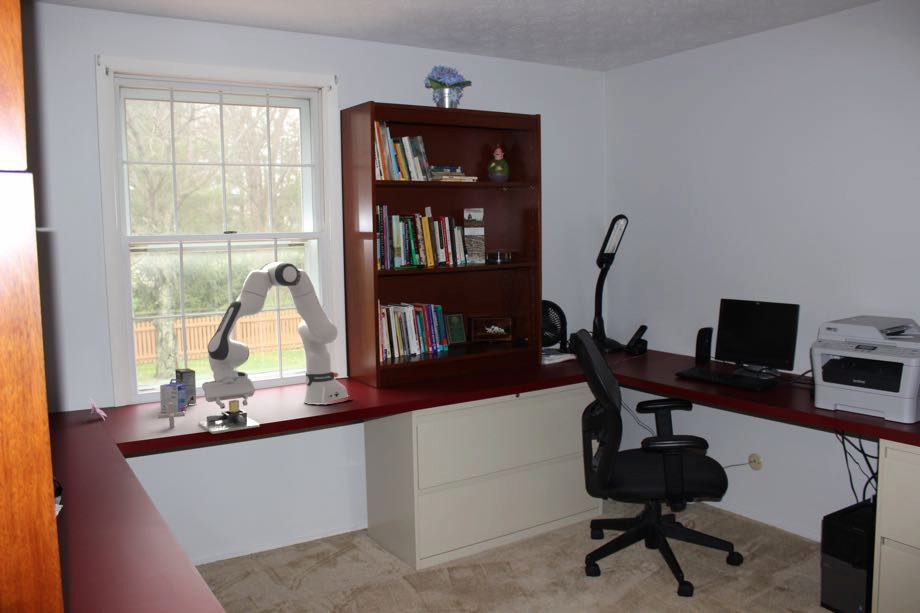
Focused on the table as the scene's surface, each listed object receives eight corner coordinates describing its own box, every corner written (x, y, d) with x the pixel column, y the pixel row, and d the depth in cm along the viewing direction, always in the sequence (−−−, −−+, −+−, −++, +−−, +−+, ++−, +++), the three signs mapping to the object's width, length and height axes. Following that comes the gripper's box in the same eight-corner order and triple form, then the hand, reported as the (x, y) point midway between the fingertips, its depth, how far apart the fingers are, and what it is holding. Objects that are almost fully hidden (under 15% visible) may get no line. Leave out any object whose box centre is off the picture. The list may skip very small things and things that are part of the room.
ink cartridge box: (187, 411, 330) (185, 379, 328) (178, 413, 324) (177, 381, 323) (169, 409, 333) (167, 378, 332) (160, 412, 328) (158, 380, 326)
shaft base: (243, 417, 315) (243, 407, 315) (259, 426, 300) (259, 415, 300) (198, 424, 304) (198, 413, 304) (212, 433, 289) (211, 422, 289)
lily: (94, 426, 307) (106, 405, 309) (69, 415, 308) (81, 394, 310) (107, 428, 319) (118, 408, 321) (84, 417, 320) (95, 397, 322)
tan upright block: (237, 418, 310) (236, 399, 309) (240, 420, 307) (240, 401, 306) (228, 420, 308) (227, 401, 307) (231, 421, 304) (230, 402, 304)
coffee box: (176, 403, 346) (174, 369, 345) (190, 401, 350) (188, 367, 349) (182, 406, 339) (181, 372, 337) (196, 404, 343) (195, 370, 341)
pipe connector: (184, 423, 307) (183, 399, 306) (185, 428, 298) (184, 404, 297) (158, 425, 303) (157, 401, 302) (158, 431, 294) (157, 406, 293)
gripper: (202, 377, 305) (210, 405, 298) (250, 372, 317) (259, 398, 310) (199, 386, 309) (207, 414, 302) (247, 381, 321) (256, 407, 314)
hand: (234, 406), depth 306 cm, fingers open, 8 cm apart
